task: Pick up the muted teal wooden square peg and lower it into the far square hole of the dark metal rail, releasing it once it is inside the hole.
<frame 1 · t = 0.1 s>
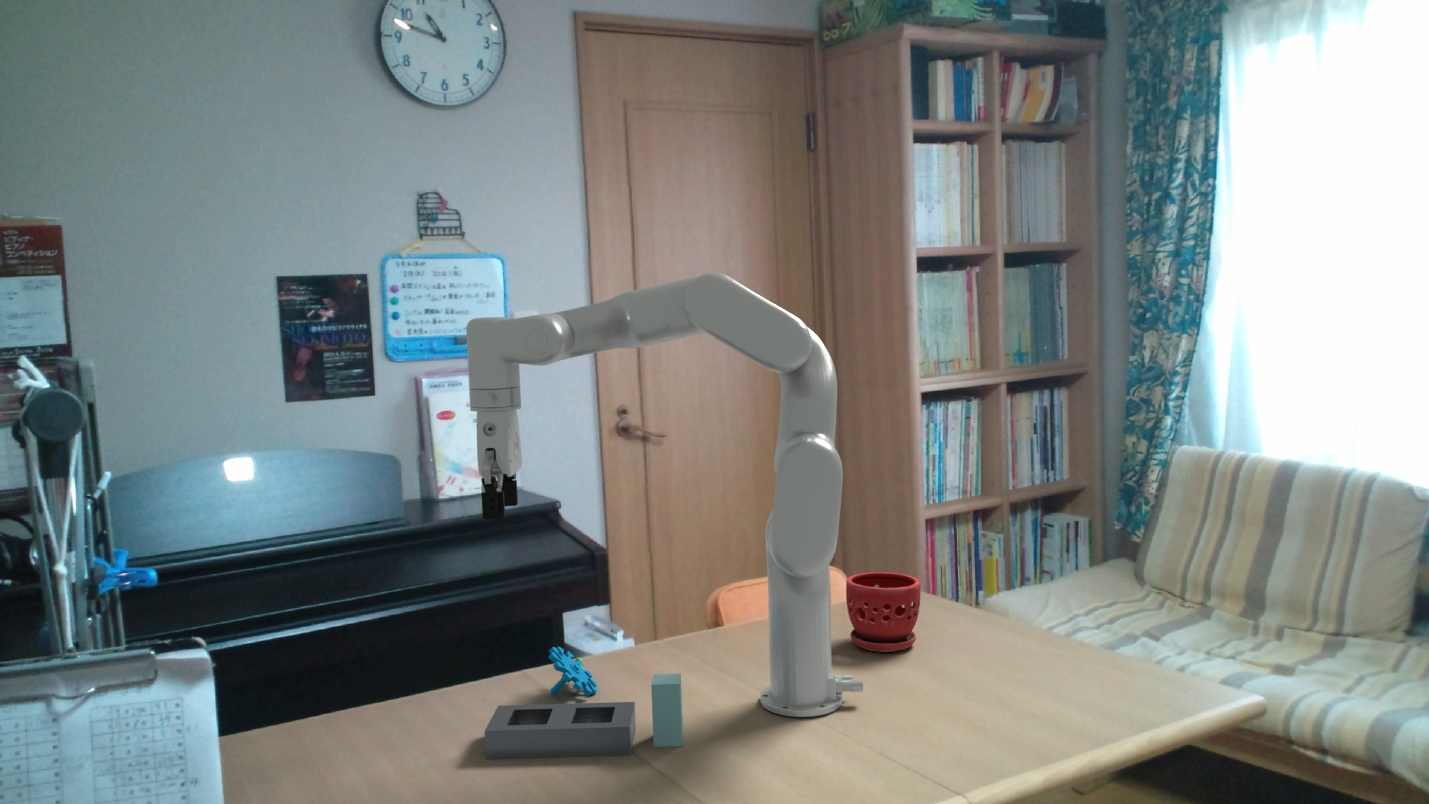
hand: (500, 512, 156), 31 cm above the table, fingers open, 9 cm apart
plant pot: (883, 645, 185), on the table
gear: (574, 693, 166), on the table
peg: (668, 740, 147), on the table
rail: (563, 743, 147), on the table
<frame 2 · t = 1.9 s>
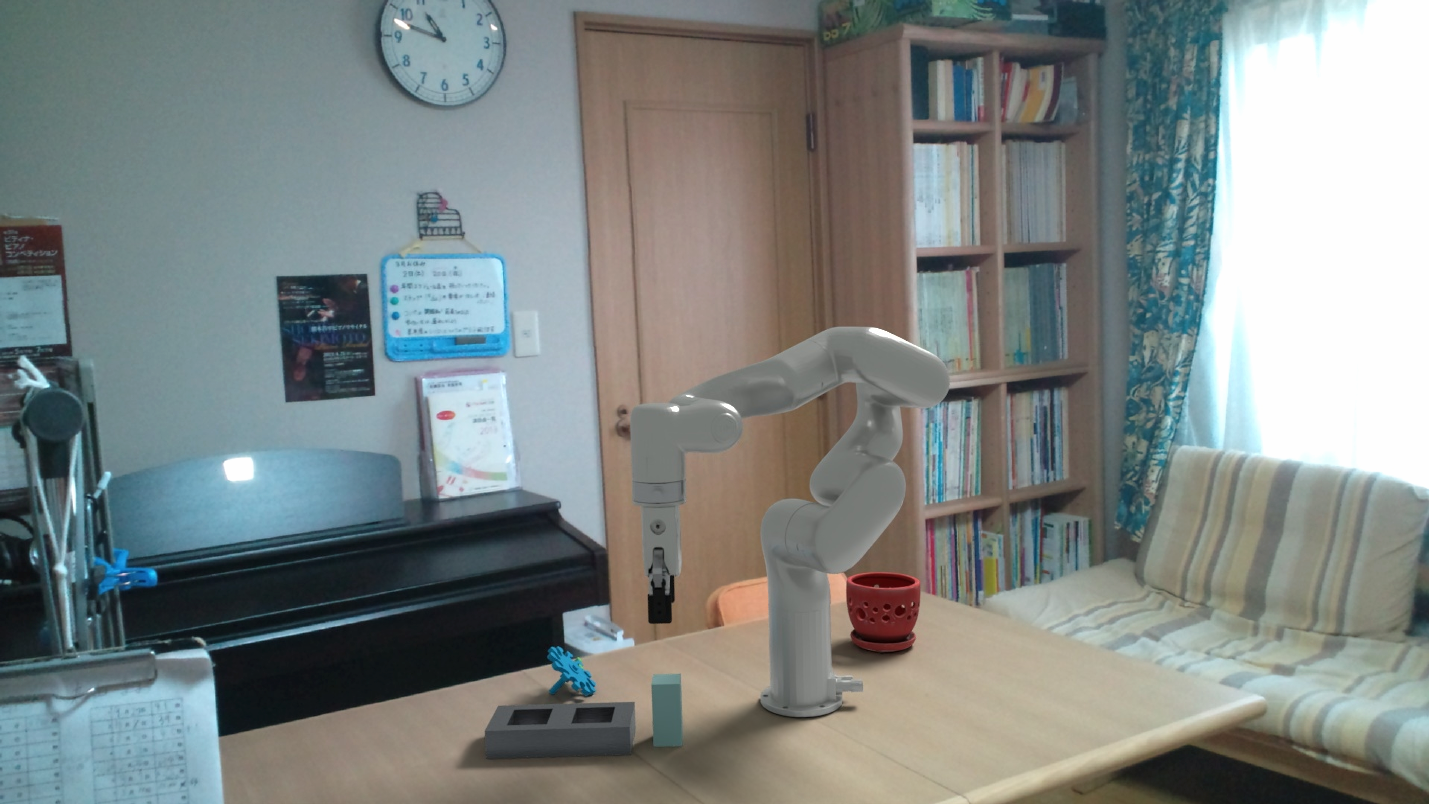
hand: (662, 612, 145), 19 cm above the table, fingers open, 9 cm apart
nothing on the table moved.
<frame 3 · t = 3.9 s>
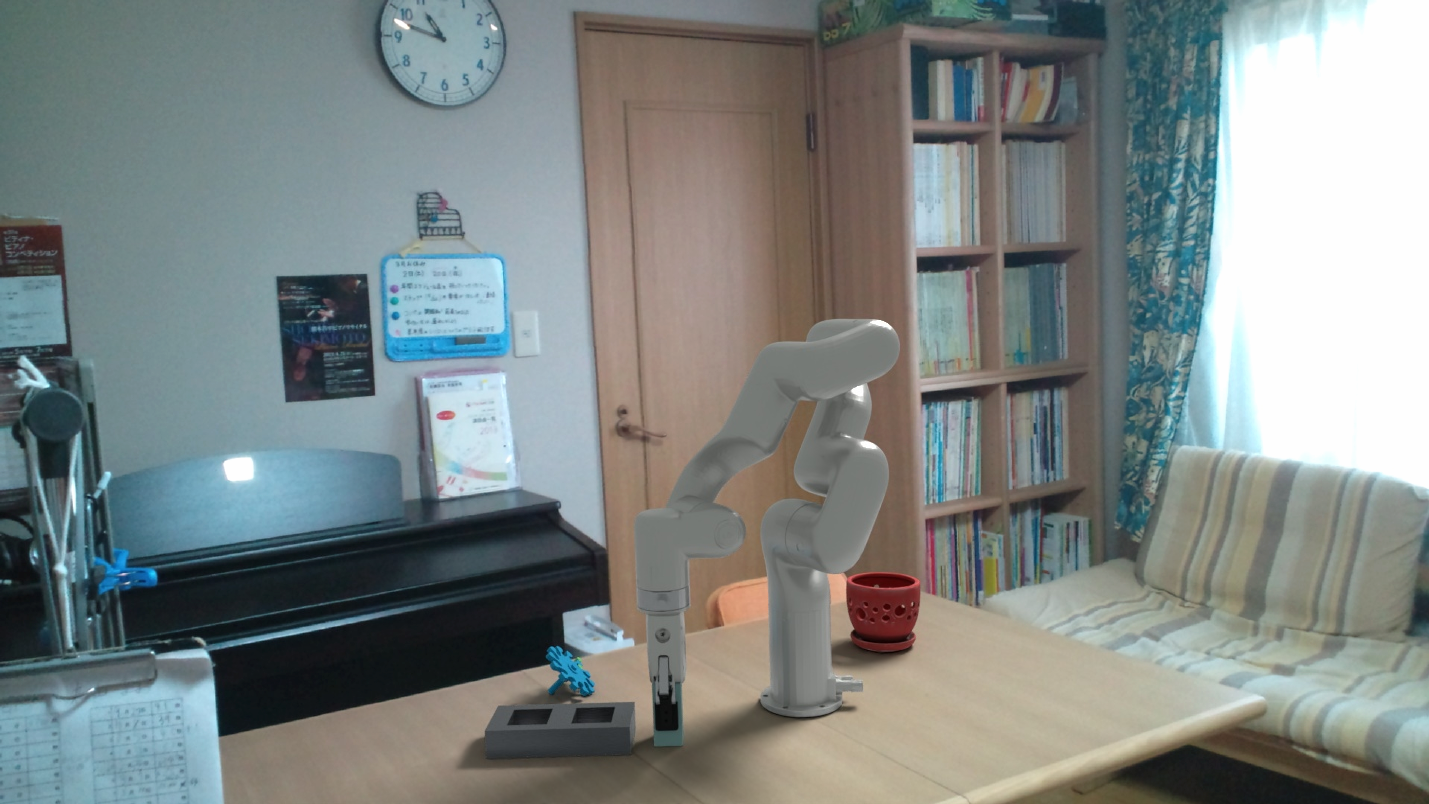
hand: (667, 721, 146), 3 cm above the table, fingers closed on peg, 3 cm apart
peg: (669, 740, 147), on the table, touching gripper
everything else where it was.
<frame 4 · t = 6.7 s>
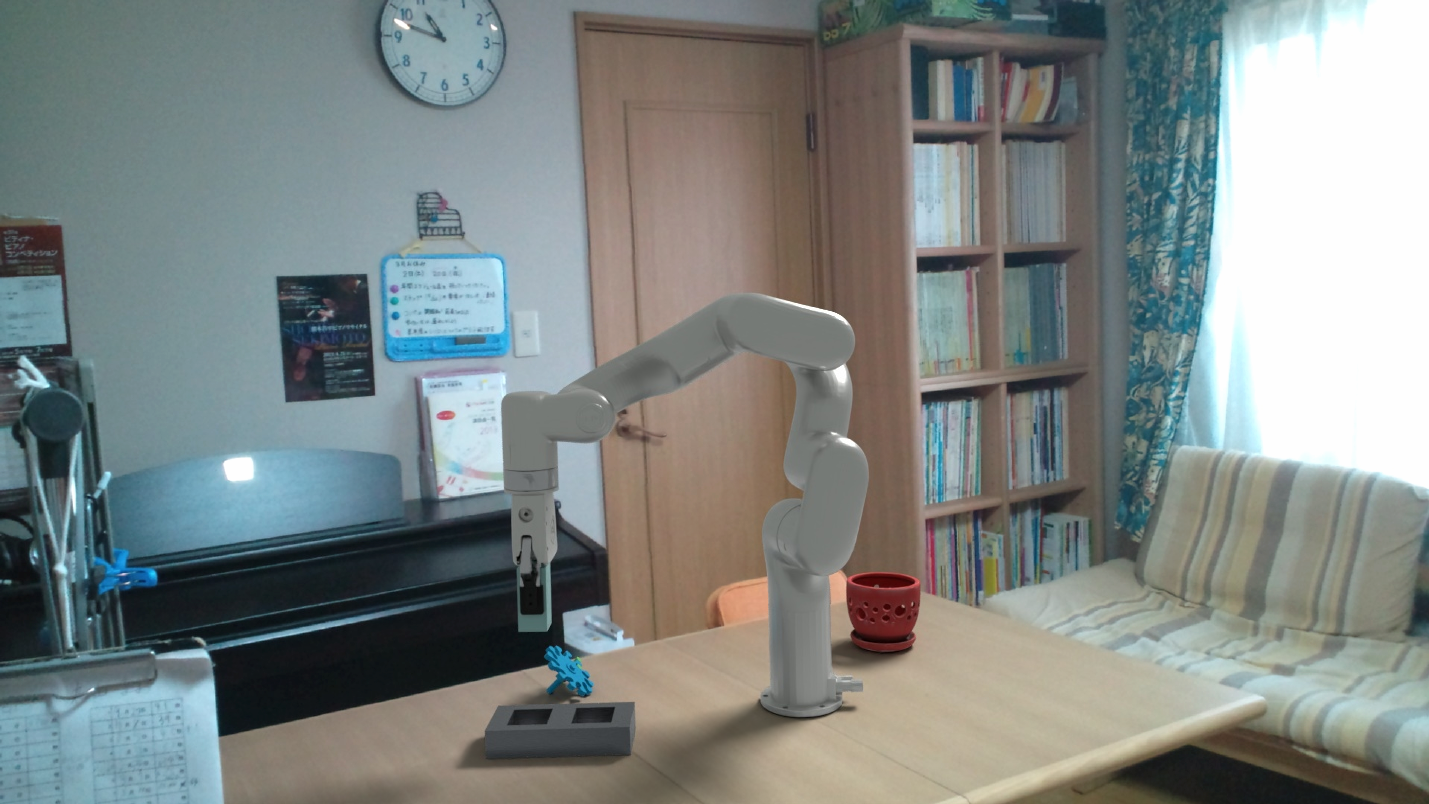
hand: (535, 607, 145), 20 cm above the table, fingers closed on peg, 4 cm apart
peg: (535, 627, 145), point 17 cm above the table, touching gripper
everything else where it was.
when the fingers open (5 cm above the table, at t = 9.4 s): peg drops 2 cm, resting in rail.
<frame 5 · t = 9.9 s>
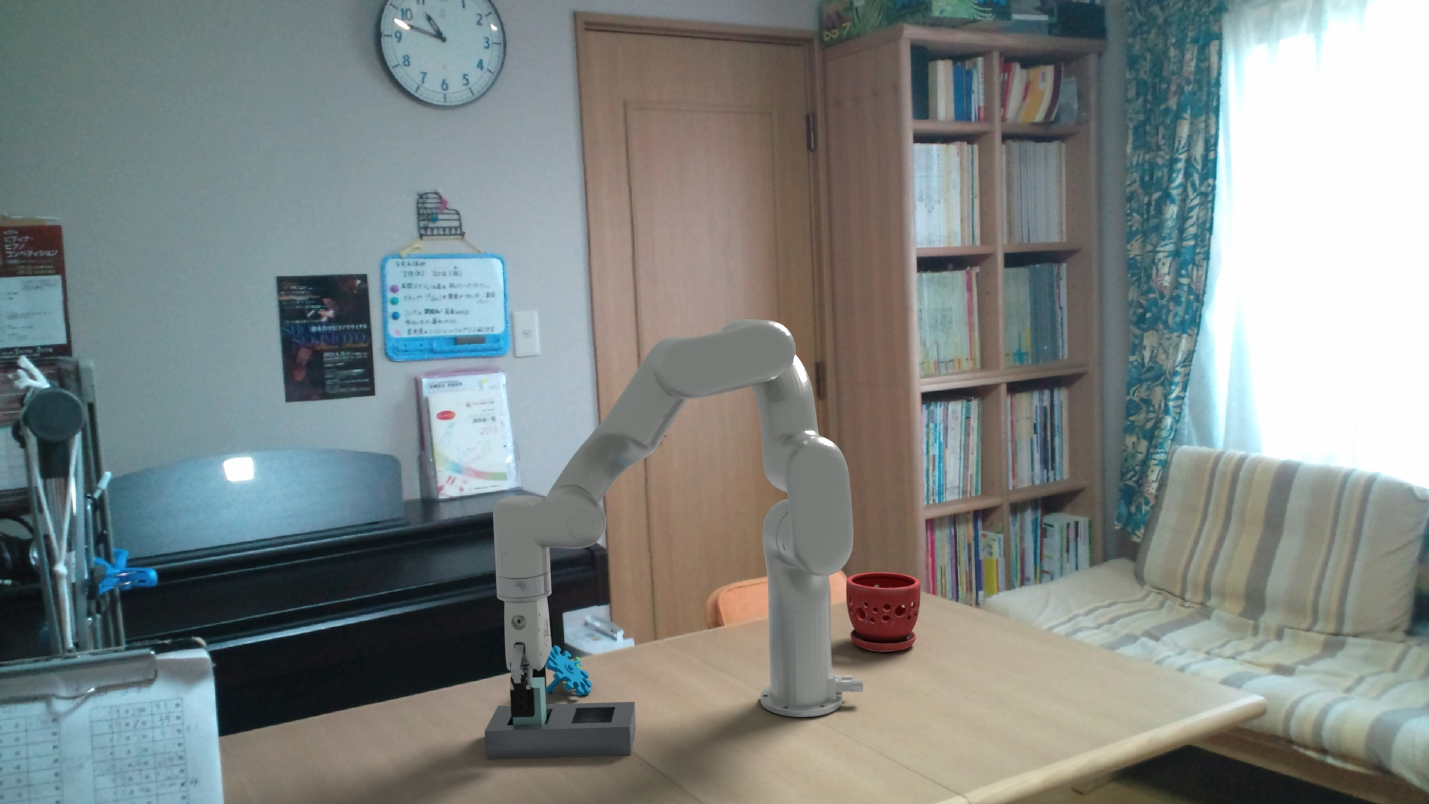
hand: (529, 702, 146), 6 cm above the table, fingers open, 9 cm apart
peg: (531, 744, 147), resting in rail
everything else where it was.
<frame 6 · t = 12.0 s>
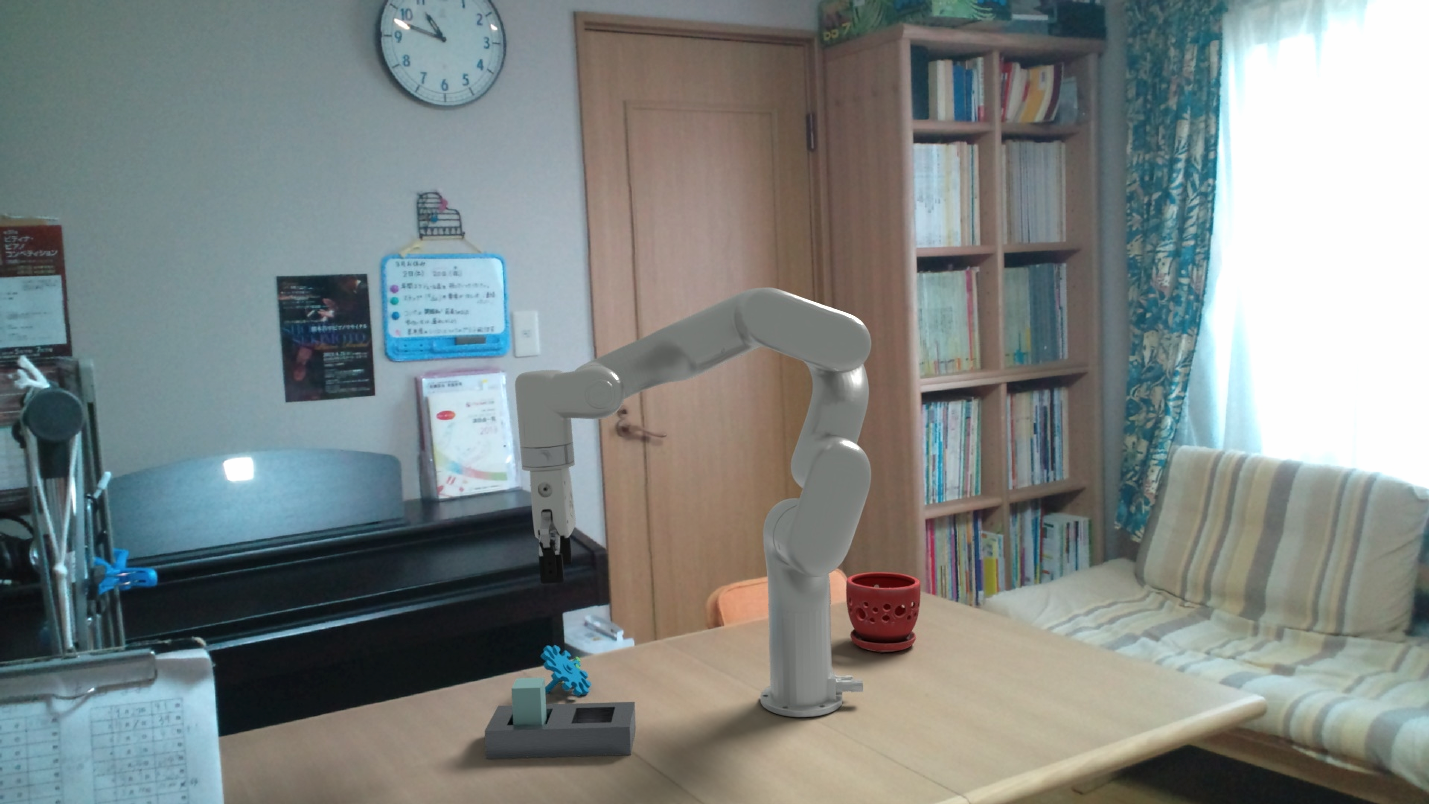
hand: (557, 573, 149), 23 cm above the table, fingers open, 9 cm apart
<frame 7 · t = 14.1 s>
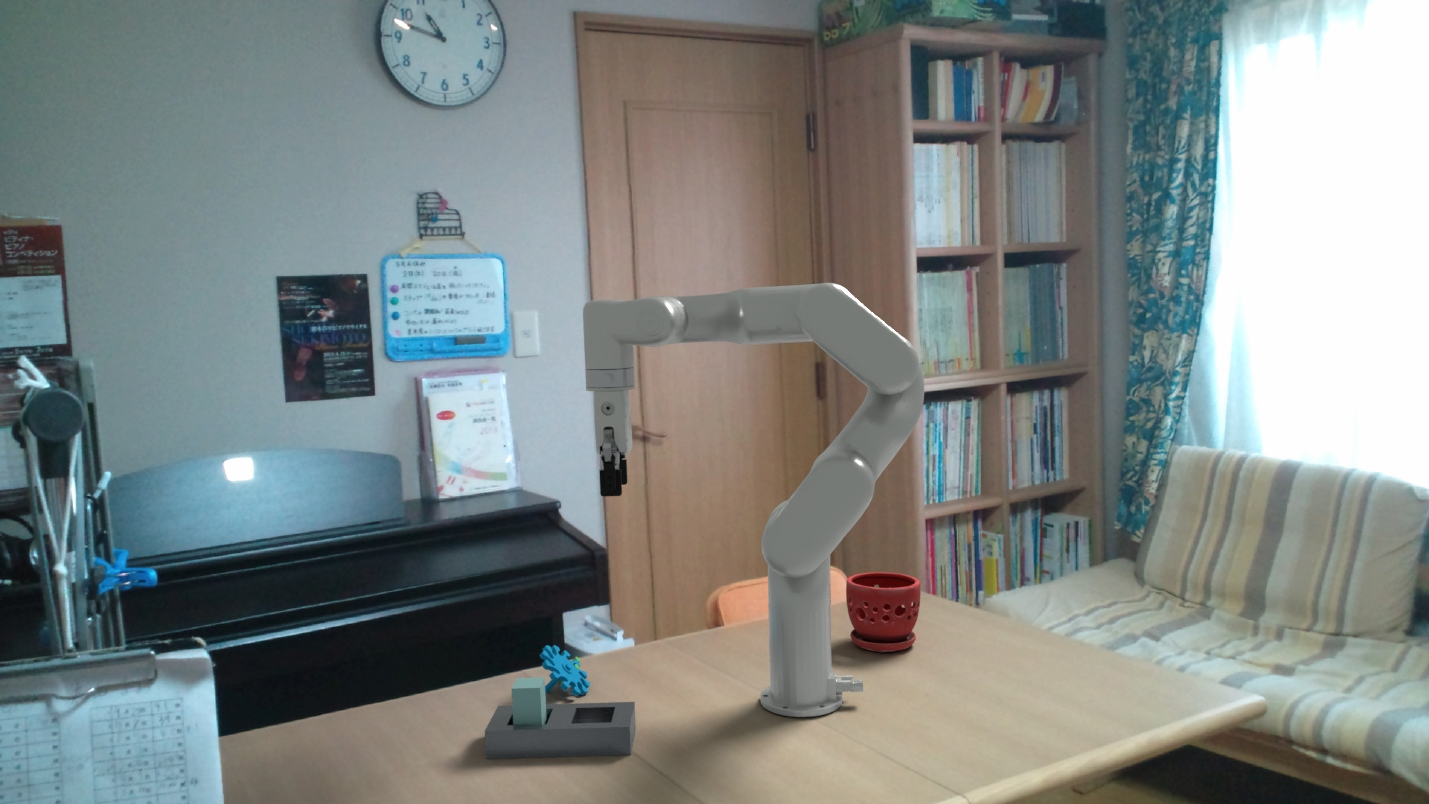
hand: (614, 490, 160), 33 cm above the table, fingers open, 9 cm apart
at the end: peg 0.1 cm from the target spot on the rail, point 0.0 cm above the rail's base; peg tilted 0°; the gripper is holding nothing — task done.
